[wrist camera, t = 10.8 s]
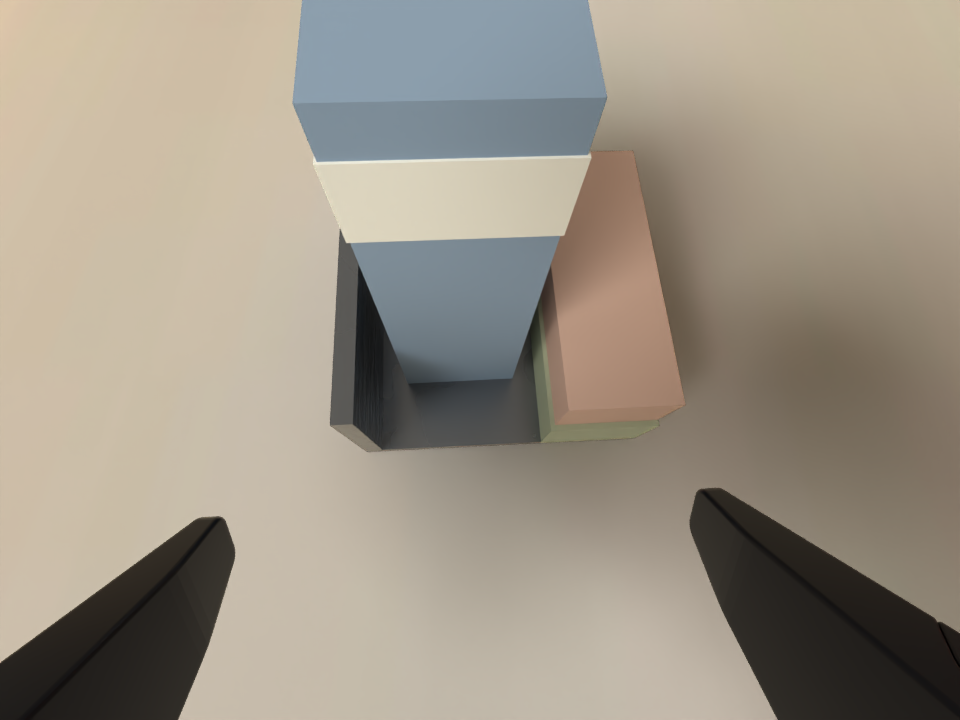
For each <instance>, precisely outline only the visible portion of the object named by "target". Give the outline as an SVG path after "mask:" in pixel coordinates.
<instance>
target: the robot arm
mask: <svg viewBox="0 0 960 720" xmlns="http://www.w3.org/2000/svg"><path fill="white" fill-rule="evenodd" d="M690 530H691V534H692V536H693V539H694V541H695V544H696V546H697V549H698V552H699V554H700V557H701V559H702V562H703V564H704V567H705V569H706V572H707V575H708V577H709V580H710V582H711V585H712V587H713V590H714V592H715V595H716V597H717V600H718V602H719V604H720V607H721V609H722V611H723V613H724V615H725V617H726V619H727V622H728V624H729V626H730V627H731V629H732V631H733V633H734V635H735V637H736V639H737V641H738V643H739V645H740V647H741V649H742V651H743V653H744V655H745V657H746V659H747V661H748V663H749V665H750V667H751V669H752V670H753V672H754V674H755V676H756V678H757V680H758V682H759V684H760V686H761V688H762V690H763V692H764V694H765V696H766V698H767V700H768V702H769V704H770V706H771V708H772V710H773V712H774V714H775V715H776V717H777V719H778V720H960V633H959V632H957V631H956V630H954V629H952V628H951V627H949V626H947V625H946V624H944V623H942V622H937V621H936V619H935V618H934V617H932V616H931V615H929V614H927V613H926V612H924V611H922V610H921V609H919V608H917V607H916V606H914V605H912V604H911V603H909V602H908V601H906V600H904V599H903V598H901V597H899V596H898V595H896V594H894V593H893V592H891V591H889V590H888V589H886V588H884V587H883V586H881V585H880V584H878V583H876V582H875V581H873V580H871V579H870V578H868V577H866V576H865V575H863V574H861V573H860V572H858V571H857V570H855V569H853V568H852V567H850V566H848V565H847V564H845V563H843V562H842V561H840V560H838V559H837V558H835V557H833V556H832V555H830V554H829V553H827V552H825V551H824V550H822V549H820V548H819V547H817V546H815V545H814V544H812V543H810V542H809V541H807V540H805V539H804V538H802V537H801V536H799V535H797V534H796V533H794V532H792V531H791V530H789V529H787V528H786V527H784V526H782V525H781V524H779V523H778V522H776V521H774V520H773V519H771V518H769V517H768V516H766V515H764V514H763V513H761V512H759V511H758V510H756V509H754V508H753V507H751V506H750V505H748V504H746V503H745V502H743V501H741V500H740V499H738V498H736V497H735V496H733V495H731V494H730V493H728V492H726V491H725V490H723V489H721V488H705V489H700V490H698V491H697V493H696V496H695V500H694V504H693V508H692V512H691V516H690ZM234 560H235V547H234V544H233V541H232V538H231V535H230V532H229V529H228V526H227V523H226V521H225V519H224V518H222V517H219V516H216V517H201V518H198V519H196V520H195V521H193V522H192V523H190V524H189V525H188V526H186V527H185V528H183V529H182V530H181V531H179V532H178V533H177V534H175V535H174V536H173V537H171V538H170V539H168V540H167V541H166V542H164V543H163V544H162V545H160V546H159V547H158V548H156V549H155V550H153V551H152V552H151V553H149V554H148V555H147V556H145V557H144V558H142V559H141V560H140V561H138V562H137V563H136V564H134V565H133V566H132V567H130V568H129V569H127V570H126V571H125V572H123V573H122V574H121V575H119V576H118V577H117V578H115V579H114V580H112V581H111V582H110V583H108V584H107V585H106V586H104V587H103V588H102V589H100V590H99V591H97V592H96V593H95V594H93V595H92V596H91V597H89V598H88V599H87V600H85V601H84V602H82V603H81V604H80V605H78V606H77V607H76V608H74V609H73V610H72V611H70V612H69V613H67V614H66V615H65V616H63V617H62V618H61V619H59V620H58V621H57V622H55V623H54V624H52V625H51V626H50V627H48V628H47V629H46V630H44V631H43V632H41V633H40V634H39V635H37V636H36V637H35V638H33V639H32V640H31V641H29V642H28V643H26V644H25V645H24V646H22V647H21V648H20V649H18V650H17V651H16V652H14V653H13V654H11V655H10V656H9V657H7V658H6V659H5V660H3V661H2V662H0V720H178V719H179V716H180V714H181V711H182V709H183V707H184V704H185V702H186V699H187V697H188V694H189V692H190V690H191V687H192V685H193V682H194V680H195V678H196V675H197V673H198V670H199V668H200V665H201V663H202V661H203V658H204V655H205V653H206V650H207V648H208V645H209V642H210V639H211V636H212V633H213V630H214V627H215V623H216V620H217V617H218V613H219V610H220V607H221V603H222V600H223V597H224V593H225V590H226V587H227V584H228V580H229V577H230V574H231V570H232V567H233V564H234Z"/></svg>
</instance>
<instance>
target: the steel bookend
mask: <svg viewBox="0 0 960 720" xmlns="http://www.w3.org/2000/svg"><path fill="white" fill-rule="evenodd" d="M330 426H331V427H333V428H334V429H336V430H337V431H338V432H340V433H341V434H343V435H344V436H345V437H347V438H348V439H350V440H351V441H353V442H354V443H355V444H357V445H358V446H360V447H361V448H362V449H364V450H365V451H367V452H375V451H395V450H414V449H434V448H453V447H473V446H492V445H512V444H531V443H540V442H541V437H540V426H539V416H538V406H537V396H536V386H535V376H534V366H533V356H532V345H531V335H530V328H529V330H528V333H527V336H526V339H525V342H524V345H523V348H522V351H521V354H520V357H519V360H518V363H517V366H516V369H515V372H514V375H513V378H511V379H490V380H470V381H450V382H430V383H410V384H408V383H407V380H406V378H405V375H404V373H403V371H402V368H401V366H400V363H399V361H398V358H397V356H396V354H395V351H394V349H393V346H392V344H391V341H390V339H389V337H388V334H387V332H386V329H385V327H384V324H383V322H382V320H381V317H380V315H379V312H378V310H377V307H376V305H375V303H374V300H373V298H372V295H371V293H370V290H369V288H368V286H367V283H366V281H365V278H364V276H363V273H362V271H361V269H360V266H359V264H358V261H357V259H356V256H355V254H354V251H353V249H352V247H351V244H350V243H346V241H345V239H344V237H343V234H342V232H341V230H340V236H339V256H338V276H337V295H336V315H335V334H334V354H333V374H332V393H331V413H330Z"/></svg>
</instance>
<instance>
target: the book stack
mask: <svg viewBox="0 0 960 720" xmlns="http://www.w3.org/2000/svg"><path fill="white" fill-rule="evenodd" d="M530 335H531V345H532V356H533V366H534V376H535V386H536V396H537V406H538V416H539V426H540V437H541V442H540V443H551V442H570V441H590V440H609V439H629V438H636V437H638V436H640V435H642V434H644V433H646V432H648V431H650V430H652V429H654V428H656V427H658V426H659V421H658V419H660V418H662V417H664V416H665V415H667V414H669V413H671V412H673V411H675V410H677V409H679V408H681V407H683V406H685V400H684V395H683V390H682V385H681V380H680V375H679V371H678V366H677V361H676V356H675V351H674V346H673V342H672V337H671V332H670V327H669V322H668V317H667V312H666V308H665V303H664V298H663V293H662V288H661V283H660V279H659V274H658V269H657V264H656V259H655V254H654V249H653V245H652V240H651V235H650V230H649V225H648V220H647V215H646V211H645V206H644V201H643V196H642V191H641V186H640V182H639V177H638V172H637V167H636V162H635V157H634V152H633V151H591V161H590V163H589V166H588V169H587V172H586V175H585V178H584V181H583V183H582V186H581V189H580V192H579V195H578V198H577V200H576V203H575V206H574V209H573V212H572V215H571V218H570V220H569V223H568V226H567V229H566V232H565V235H564V236H560V239H559V242H558V245H557V248H556V251H555V254H554V256H553V259H552V262H551V265H550V268H549V271H548V274H547V277H546V280H545V283H544V286H543V289H542V292H541V295H540V298H539V301H538V304H537V307H536V310H535V313H534V316H533V319H532V322H531V325H530Z"/></svg>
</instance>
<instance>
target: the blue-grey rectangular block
mask: <svg viewBox="0 0 960 720" xmlns="http://www.w3.org/2000/svg"><path fill="white" fill-rule="evenodd" d="M606 100H607V94H606V89H605V84H604V79H603V74H602V69H601V64H600V59H599V54H598V49H597V44H596V39H595V34H594V29H593V24H592V19H591V14H590V9H589V4H588V0H302V8H301V18H300V29H299V40H298V51H297V61H296V72H295V83H294V93H293V106H294V108H295V111H296V113H297V115H298V118H299V120H300V123H301V125H302V128H303V130H304V132H305V135H306V137H307V140H308V142H309V145H310V147H311V149H312V152H313V154H314V158H313V166H314V168H315V171H316V173H317V175H318V178H319V180H320V183H321V185H322V187H323V190H324V192H325V194H326V197H327V199H328V201H329V204H330V206H331V208H332V211H333V213H334V215H335V218H336V220H337V223H338V225H339V227H340V230H341V232H342V234H343V237H344V239H345V241H346V243H350V244H351V247H352V249H353V251H354V254H355V256H356V259H357V261H358V264H359V266H360V269H361V271H362V273H363V276H364V278H365V281H366V283H367V286H368V288H369V290H370V293H371V295H372V298H373V300H374V303H375V305H376V307H377V310H378V312H379V315H380V317H381V320H382V322H383V324H384V327H385V329H386V332H387V334H388V337H389V339H390V341H391V344H392V346H393V349H394V351H395V354H396V356H397V358H398V361H399V363H400V366H401V368H402V371H403V373H404V375H405V378H406V380H407V383H408V384H410V383H430V382H450V381H470V380H490V379H511V378H513V375H514V372H515V369H516V366H517V363H518V360H519V357H520V354H521V351H522V348H523V345H524V342H525V339H526V336H527V333H528V330H529V328H530V325H531V322H532V319H533V316H534V313H535V310H536V307H537V304H538V301H539V298H540V295H541V292H542V289H543V286H544V283H545V280H546V277H547V274H548V271H549V268H550V265H551V262H552V259H553V256H554V254H555V251H556V248H557V245H558V242H559V239H560V236H564V235H565V232H566V229H567V226H568V223H569V220H570V218H571V215H572V212H573V209H574V206H575V203H576V200H577V198H578V195H579V192H580V189H581V186H582V183H583V181H584V178H585V175H586V172H587V169H588V166H589V163H590V161H591V152H590V147H591V144H592V141H593V138H594V135H595V132H596V129H597V126H598V123H599V120H600V117H601V114H602V111H603V109H604V106H605V103H606Z"/></svg>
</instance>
